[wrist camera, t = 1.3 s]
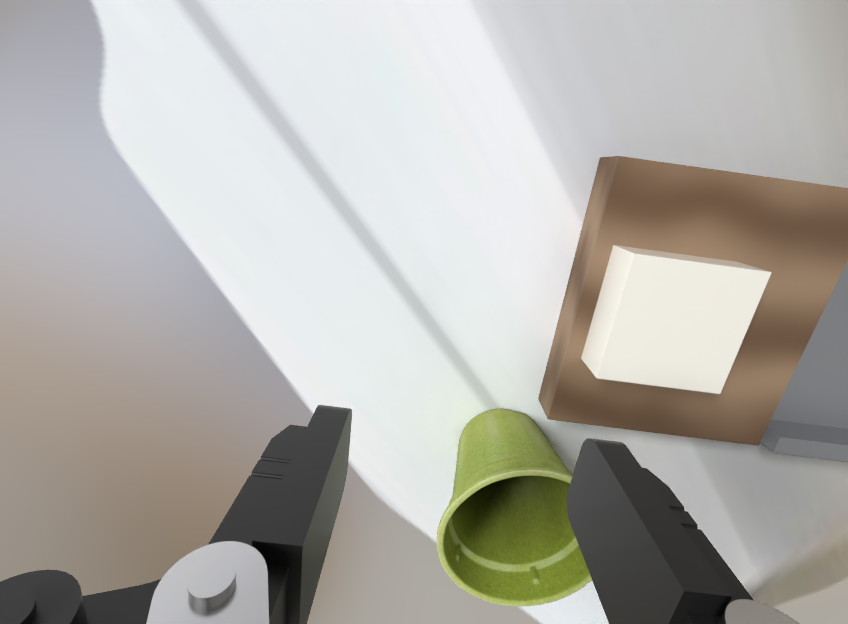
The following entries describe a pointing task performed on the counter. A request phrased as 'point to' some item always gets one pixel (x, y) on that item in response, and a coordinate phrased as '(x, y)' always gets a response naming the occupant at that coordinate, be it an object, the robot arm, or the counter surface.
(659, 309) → the tile
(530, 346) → the counter surface
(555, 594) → the plant pot
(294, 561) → the robot arm
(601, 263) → the brown square board
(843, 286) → the tray
